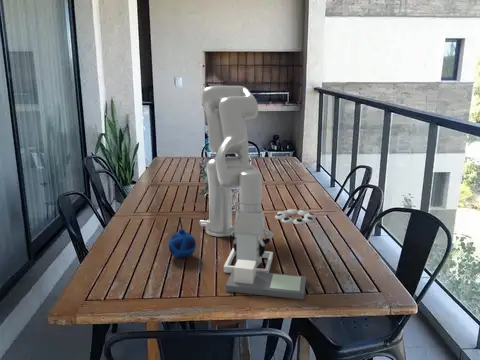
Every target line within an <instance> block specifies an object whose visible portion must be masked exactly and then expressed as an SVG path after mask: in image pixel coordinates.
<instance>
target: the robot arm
mask: <svg viewBox="0 0 480 360" xmlns="http://www.w3.org/2000/svg"><path fill="white" fill-rule="evenodd" d="M201 93H202V94H201V101H202V108H203V110H204V113H205V116H206V120H207V135H208V147H209V151H210V152H211V153H212V154H214V155H216V156H215V157H214V158H212V159H210V160H208V161H207V163H206V166H205V168H206V176H207V183H208V212H209V213H208V219H207V220H204V219H200V220H199V225H200V226H201V227H205V233H206V234H207V235H209V236H212V237H219V238H223V237H228V239H229V240H230V241H232V242H233V245H234V246H233V248H234V251H236V252H237V234H251V235H258V241H259V242H260V243H261V245H260V257H262V255H263V254H264V253H265V251H266V245H267V244H268V243H270V242H271V240H272V239H273V238H274V236H275V235H274V232H272V231H271V230H270V229H268V228H267V227H266V225H265V213H264V210H263V209H262V197H263V196H262V195H263V194H262V191H263V188H262V186H263V175H262V173H261V171H259V170H258V169H257V168H256V166H255V165H253V164H250V157H249V155H250V152H249V139H248V132H247V131H248V130H247V127H246V126H247V125H246V122H245V121H246V120H253V119H256V118H257V116H258V115H259V105H258V101H257V99H256V98H255V96H254V95H253V93H251V91H250V90H249V89H248V88H247V87H245V86H243V85H211V86H207V87H205V88H204V89H203V91H202V92H201ZM228 154H229V155H230V154H231V155H232V154H235V156H226V155H228ZM232 188H233V189H234V188H239V189H238V190H239V191H238V195H239V196H238V200H239V201H236V202H234V206H235V207H237V208H238V209H236V213H235V219H234V225H232V224H233V191H232ZM265 234H266V235H267V236H268V237H266V238H265Z"/></svg>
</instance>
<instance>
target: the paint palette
mask: <svg viewBox="0 0 480 360" xmlns="http://www.w3.org/2000/svg"><path fill="white" fill-rule="evenodd" d="M297 214H298V215H300V216H303V218H295V219H294V218H292V217H290V215H297ZM274 218H275V219H277V220H280V222H282V223H284V224H295V225H305V224H306V223H308V224H311V223H314V222H316V219H317V215H316V214H315V213H312V212H309V211H308V210H307V209H299V210H297V209H296V208H288V209H287V210H286V209H282V210H278V211H277V213H276V215H275V216H274Z"/></svg>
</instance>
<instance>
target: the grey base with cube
mask: <svg viewBox="0 0 480 360" xmlns="http://www.w3.org/2000/svg"><path fill="white" fill-rule="evenodd" d="M234 266H235V267H234V269H233V271H232V273H230V275H229V278H228V280H227V282H226V284H225V291H226V292H231V293H239V294H248V295H249V294H250V295H259V296H266V297H267V296H269V297H274V298H275V297H278V298H287V299H293V300H294V299H297V300H305V295H306V293H305V292H306V280H307V279H306V277H307V276H305V275H298V274H297V275H295V274H286V273H285V274H284V273H275V272H274V273H273V272H269V273H266V272H256V261H251V260H240V259H238V260H237V262H236V263H235V264H234Z"/></svg>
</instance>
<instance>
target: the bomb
mask: <svg viewBox="0 0 480 360" xmlns="http://www.w3.org/2000/svg"><path fill="white" fill-rule="evenodd" d="M178 218H179V223H180V229H178V231H176V232H174V233H173V234H171V235H170V237H169V240H168V243H167V244H168V246H167V247H168V250H169V253H170V254H171V255H172V256H173V257H174V258H176V259H180V260H186V259H188V258H190V257H191V256H192V255H193V254H194V252H195V251H196V248H197V243H196V240H195V237H194V236H193V235H192V234H191V233H190V232H187V231H186V230H185V228H183V223H182V220H181V216H179V217H178Z"/></svg>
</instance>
